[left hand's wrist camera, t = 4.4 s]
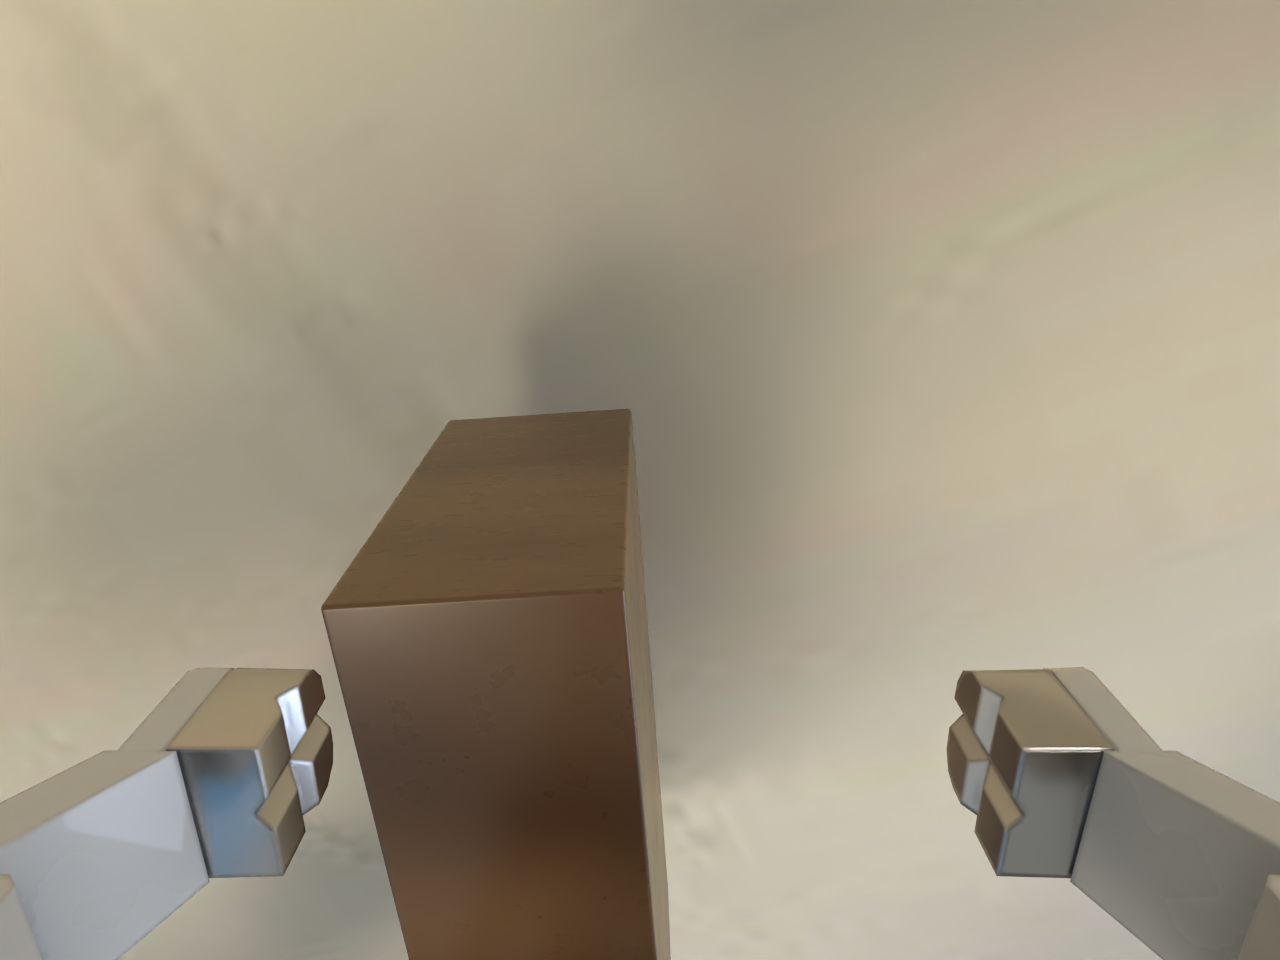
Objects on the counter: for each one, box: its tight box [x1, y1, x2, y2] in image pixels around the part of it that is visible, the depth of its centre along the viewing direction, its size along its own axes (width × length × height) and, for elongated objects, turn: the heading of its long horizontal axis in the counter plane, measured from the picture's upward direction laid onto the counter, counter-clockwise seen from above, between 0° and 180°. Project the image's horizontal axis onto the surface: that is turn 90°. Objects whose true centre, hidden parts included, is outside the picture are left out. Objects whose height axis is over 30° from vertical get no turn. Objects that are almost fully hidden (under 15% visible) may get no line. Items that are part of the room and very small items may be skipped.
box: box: [321, 409, 671, 960], centre depth 25 cm, size 21×6×12 cm, turn 4°
